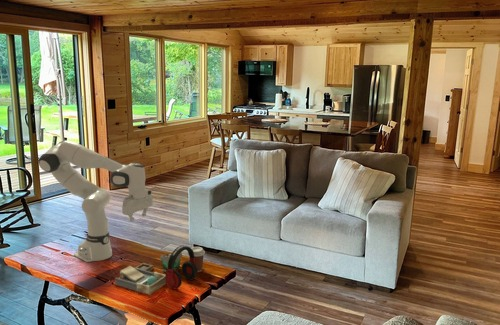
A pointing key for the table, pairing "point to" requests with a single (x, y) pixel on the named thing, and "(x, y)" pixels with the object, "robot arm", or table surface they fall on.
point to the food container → (166, 258)
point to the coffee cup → (198, 257)
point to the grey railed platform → (131, 284)
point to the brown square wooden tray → (145, 267)
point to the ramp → (131, 273)
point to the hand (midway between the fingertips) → (138, 218)
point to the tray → (154, 286)
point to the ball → (151, 280)
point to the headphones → (187, 268)
